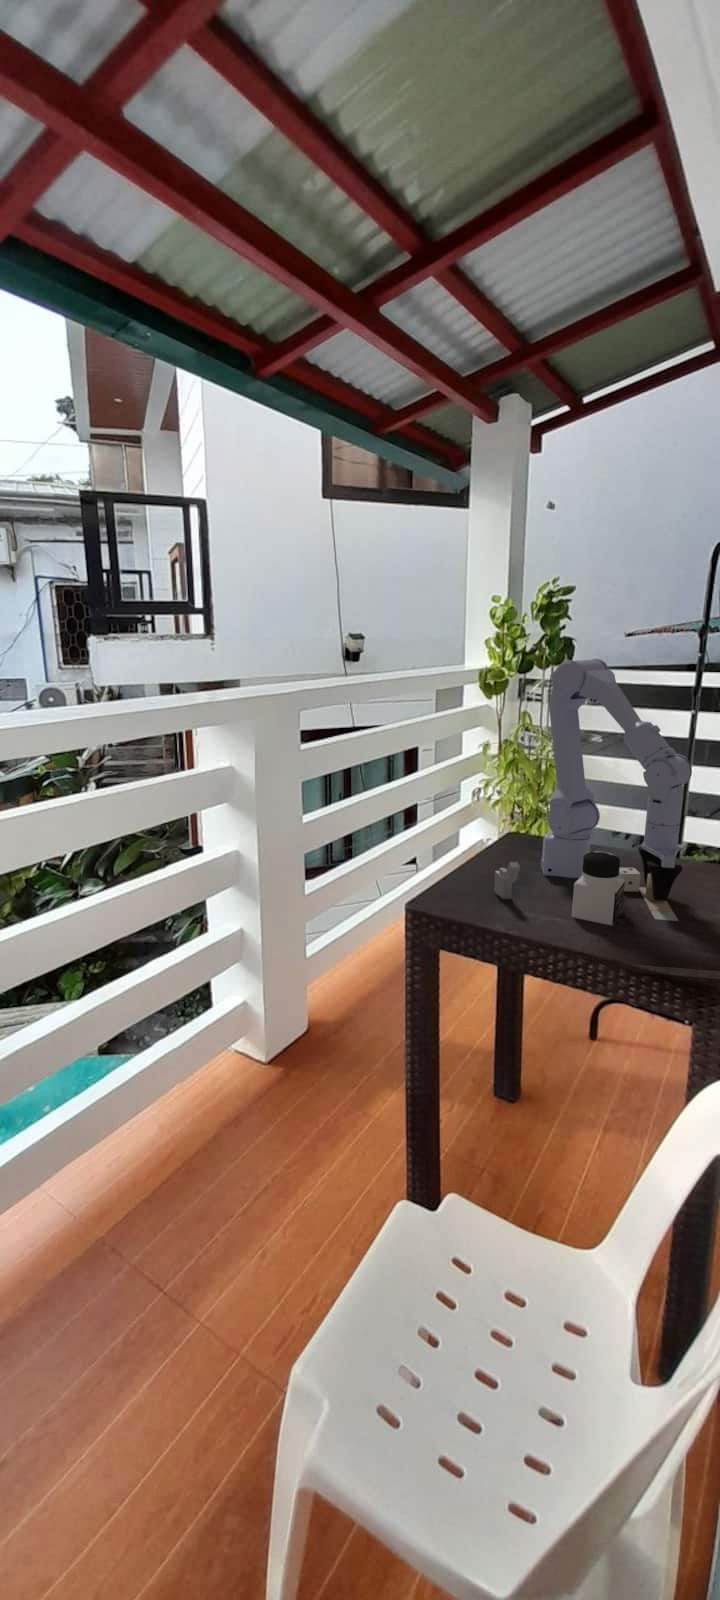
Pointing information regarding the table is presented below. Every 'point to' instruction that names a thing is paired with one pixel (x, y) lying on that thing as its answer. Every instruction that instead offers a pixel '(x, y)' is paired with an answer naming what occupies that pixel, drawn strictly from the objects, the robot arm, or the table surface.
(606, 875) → the medicine bottle
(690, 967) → the table surface
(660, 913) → the board
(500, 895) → the grey notched upright piece
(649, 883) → the pawn
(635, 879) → the die
